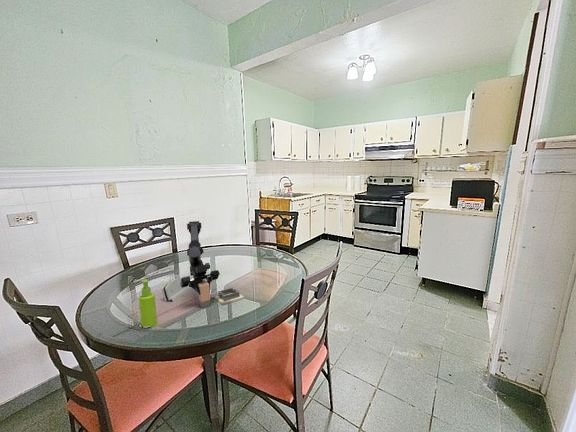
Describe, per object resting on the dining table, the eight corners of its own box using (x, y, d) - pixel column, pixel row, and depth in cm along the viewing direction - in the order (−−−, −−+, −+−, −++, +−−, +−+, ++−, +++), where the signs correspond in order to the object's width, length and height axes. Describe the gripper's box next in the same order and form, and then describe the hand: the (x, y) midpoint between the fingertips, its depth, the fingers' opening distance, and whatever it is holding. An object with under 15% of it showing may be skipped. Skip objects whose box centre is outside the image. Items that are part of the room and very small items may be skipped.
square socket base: (214, 297, 134) (213, 291, 134) (234, 291, 141) (234, 285, 141) (222, 305, 124) (221, 298, 124) (244, 298, 131) (243, 292, 131)
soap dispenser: (151, 319, 113) (147, 276, 111) (159, 323, 109) (155, 279, 107) (138, 325, 108) (133, 281, 106) (145, 330, 104) (141, 284, 102)
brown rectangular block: (199, 304, 126) (197, 283, 125) (207, 302, 129) (206, 281, 127) (201, 307, 122) (200, 286, 121) (210, 305, 125) (209, 284, 124)
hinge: (173, 302, 130) (165, 284, 130) (165, 304, 131) (158, 287, 131) (191, 289, 147) (184, 273, 146) (184, 291, 148) (178, 276, 148)
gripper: (179, 262, 121) (187, 290, 113) (217, 255, 132) (226, 280, 124) (177, 273, 128) (184, 301, 120) (213, 266, 139) (221, 291, 131)
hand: (204, 293), depth 124 cm, fingers closed on brown rectangular block, 4 cm apart
